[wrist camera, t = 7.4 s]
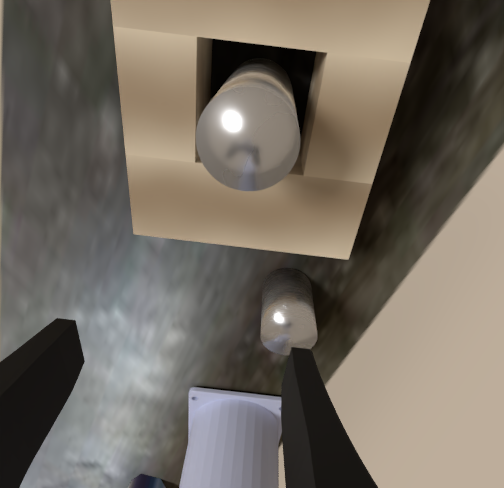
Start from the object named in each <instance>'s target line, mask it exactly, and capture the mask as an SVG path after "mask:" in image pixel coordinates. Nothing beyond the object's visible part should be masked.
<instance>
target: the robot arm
mask: <svg viewBox="0 0 504 488" xmlns="http://www.w3.org/2000/svg"><path fill="white" fill-rule="evenodd" d="M83 364H84V356H83V352H82V348H81V343H80V339H79V334H78V330H77V326H76V321H75V320H67V319H59V318H57V319H55V320H54V321H53V322H51V323H50V324H49V325H48V326H46V327H45V328H44V329H42V330H41V331H40V332H39V333H37V334H36V335H35V336H34V337H32V338H31V339H30V340H28V341H27V342H26V343H25V344H23V345H22V346H21V347H20V348H18V349H17V350H16V351H14V352H13V353H12V354H10V355H9V356H8V357H7V358H5V359H4V360H3V361H1V362H0V488H19V487H20V485H21V483H22V480H23V478H24V476H25V474H26V472H27V470H28V468H29V467H30V465H31V463H32V461H33V459H34V457H35V455H36V454H37V452H38V450H39V449H40V447H41V445H42V443H43V442H44V440H45V438H46V436H47V435H48V433H49V431H50V429H51V428H52V426H53V424H54V422H55V421H56V419H57V417H58V415H59V414H60V412H61V410H62V408H63V406H64V405H65V403H66V401H67V399H68V398H69V396H70V394H71V392H72V390H73V388H74V385H75V383H76V381H77V379H78V376H79V374H80V371H81V369H82V366H83ZM281 433H282V440H283V454H284V468H285V481H286V488H378V487H377V485H376V484H375V482H374V481H373V479H372V477H371V475H370V474H369V473H368V471H367V469H366V467H365V465H364V464H363V462H362V460H361V459H360V457H359V455H358V453H357V452H356V450H355V448H354V446H353V444H352V442H351V441H350V439H349V437H348V435H347V433H346V431H345V429H344V427H343V425H342V423H341V421H340V419H339V417H338V415H337V413H336V410H335V408H334V406H333V404H332V402H331V400H330V398H329V395H328V393H327V391H326V388H325V386H324V383H323V381H322V378H321V376H320V373H319V371H318V368H317V365H316V362H315V359H314V356H313V353H312V351H311V350H310V349H305V348H297V347H291V350H290V354H289V358H288V362H287V366H286V370H285V374H284V378H283V382H282V394H281V397H277V396H268V395H260V394H251V393H242V392H234V391H225V390H217V389H208V388H199V387H193V388H191V389H190V391H189V442H188V447H187V452H186V457H185V461H184V466H183V471H182V476H181V481H180V486H179V488H278V444H279V440H280V437H281Z"/></svg>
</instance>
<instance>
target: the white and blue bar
mask: <svg viewBox="0 0 504 488" xmlns="http://www.w3.org/2000/svg"><path fill="white" fill-rule="evenodd" d="M128 488H165V486H164V484H163V482H162V481H161V479H159V478H155V477H151V476H148V475H144V474H140V475H139V476H137V477H136V478H134V479H132V480H131V482H130V485H129V487H128Z"/></svg>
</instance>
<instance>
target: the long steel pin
mask: <svg viewBox="0 0 504 488" xmlns="http://www.w3.org/2000/svg"><path fill="white" fill-rule="evenodd" d="M196 146H197V151H198V155H199V157H200V160H201V162H202V163H203V165H204V167H205V168H206V170H207V171H208V172H209V173H210V174H211V175H212V177H214V178H215V179H216V180H217V181H219V182H220V183H222V184H223V185H225V186H227V187H230V188H232V189H236V190H240V191H259V190H263V189H266V188H269V187H271V186H273V185H275V184H277V183H278V182H280V181H281V180H282V179H283V178H284V177H286V176H287V174H288V173H289V172H290V171H291V169H292V168H293V166H294V165H295V162H296V160H297V158H298V154H299V150H300V130H299V125H298V119H297V113H296V107H295V101H294V95H293V89H292V85H291V81H290V78H289V76H288V75H287V73H286V72H285V70H284V69H283V68H282V67H281V66H280V65H279V64H277V63H276V62H274V61H272V60H269V59H265V58H254V59H250V60H247V61H245V62H243V63H242V64H240V65H239V66H238V67H237V68H236V69H235V70H234V71H233V73H232V74H231V75H230V77H229V78H228V79H227V80H226V82H225V83H224V84H223V86H222V87H221V88H220V90H219V91H218V92H217V93H216V95H215V96H214V97H213V99H212V100H211V101H210V102H209V104H208V105H207V106H206V108H205V109H204V111H203V112H202V114H201V116H200V119H199V121H198V125H197V129H196Z"/></svg>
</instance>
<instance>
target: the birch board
mask: <svg viewBox="0 0 504 488" xmlns="http://www.w3.org/2000/svg"><path fill="white" fill-rule="evenodd" d="M429 3H430V0H111V9H112V19H113V30H114V40H115V50H116V60H117V70H118V80H119V91H120V101H121V111H122V121H123V131H124V142H125V152H126V162H127V172H128V182H129V192H130V203H131V213H132V223H133V233H134V234H137V235H145V236H153V237H162V238H170V239H179V240H187V241H195V242H204V243H212V244H221V245H229V246H238V247H246V248H254V249H263V250H271V251H280V252H288V253H296V254H305V255H313V256H322V257H330V258H339V259H347V260H348V259H349V256H350V253H351V250H352V247H353V244H354V240H355V237H356V234H357V231H358V228H359V224H360V221H361V218H362V215H363V212H364V209H365V205H366V202H367V199H368V196H369V193H370V190H371V186H372V183H373V180H374V177H375V174H376V171H377V167H378V164H379V161H380V158H381V155H382V152H383V148H384V145H385V142H386V139H387V136H388V133H389V129H390V126H391V123H392V120H393V117H394V114H395V110H396V107H397V104H398V101H399V98H400V94H401V91H402V88H403V85H404V82H405V79H406V75H407V72H408V69H409V66H410V63H411V60H412V56H413V53H414V50H415V47H416V44H417V41H418V37H419V34H420V31H421V28H422V25H423V22H424V18H425V15H426V12H427V9H428V6H429ZM212 39H220V40H228V41H236V42H244V43H253V44H261V45H269V46H277V47H285V48H293V49H301V50H309V51H316V56H315V62H314V67H313V73H312V78H311V84H310V89H309V95H308V100H307V106H306V112H305V117H304V123H303V128H302V134H301V139H300V150H299V154H298V158H297V160H296V162H295V165H294V166H293V168H292V169H291V171H290V172H289V173H288V174H287V176H286V177H284V178H283V179H282V180H281V181H280V182H278V183H277V184H275V185H273V186H271V187H269V188H266V189H263V190H259V191H240V190H236V189H232V188H230V187H227V186H225V185H223V184H222V183H220V182H219V181H217V180H216V179H215V178H214V177H212V175H211V174H210V173H209V172H208V171H207V170H206V168H205V167H204V165H203V163H202V162H201V160H200V157H199V155H198V151H197V146H196V129H197V125H198V121H199V119H200V116H201V114H202V112H203V111H204V109H205V108H206V106H207V105H208V104H209V102H210V96H211V67H212Z"/></svg>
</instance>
